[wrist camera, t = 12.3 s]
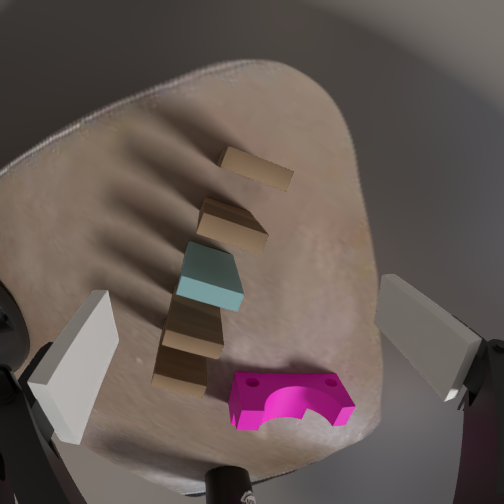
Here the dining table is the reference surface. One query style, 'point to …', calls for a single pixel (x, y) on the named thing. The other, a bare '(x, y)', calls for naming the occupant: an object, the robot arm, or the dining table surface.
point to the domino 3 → (210, 277)
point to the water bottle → (228, 486)
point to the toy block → (287, 398)
